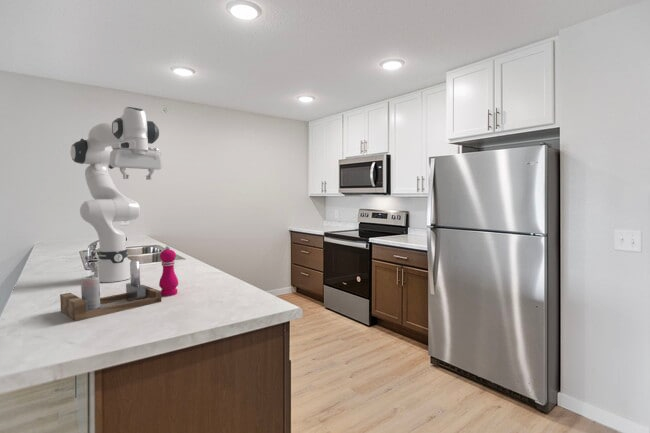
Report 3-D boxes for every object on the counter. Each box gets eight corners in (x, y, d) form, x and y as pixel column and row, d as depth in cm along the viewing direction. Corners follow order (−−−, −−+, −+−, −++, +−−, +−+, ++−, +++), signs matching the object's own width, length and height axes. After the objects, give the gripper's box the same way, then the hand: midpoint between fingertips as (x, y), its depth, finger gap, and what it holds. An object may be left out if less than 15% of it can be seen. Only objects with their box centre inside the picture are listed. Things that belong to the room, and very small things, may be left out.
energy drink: (98, 307, 130) (96, 274, 129) (102, 310, 126) (100, 277, 126) (80, 311, 126) (79, 277, 126) (84, 314, 123) (82, 279, 122)
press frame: (60, 311, 126) (60, 294, 126) (143, 294, 147) (142, 279, 147) (75, 321, 116) (74, 303, 115) (161, 301, 137) (160, 286, 137)
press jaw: (126, 299, 140) (124, 260, 139) (134, 297, 142) (133, 259, 141) (137, 303, 133) (135, 263, 132) (146, 301, 136) (144, 262, 135)
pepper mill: (171, 296, 143) (170, 247, 142) (155, 296, 145) (153, 246, 144) (182, 292, 150) (180, 244, 149) (166, 291, 152) (165, 244, 151)
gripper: (157, 149, 161) (158, 180, 162) (107, 144, 145) (108, 178, 146) (164, 148, 157) (165, 179, 158) (113, 142, 141) (115, 178, 142)
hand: (137, 179), depth 152 cm, fingers open, 8 cm apart
